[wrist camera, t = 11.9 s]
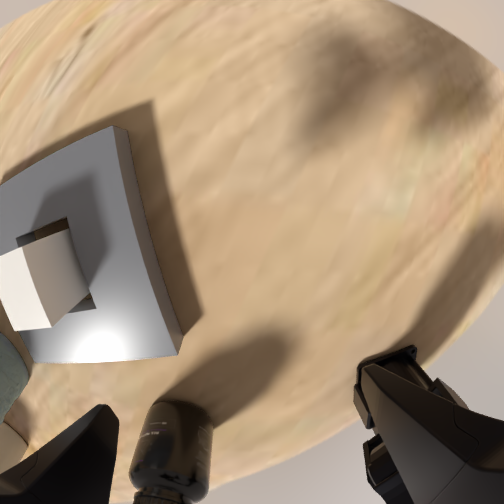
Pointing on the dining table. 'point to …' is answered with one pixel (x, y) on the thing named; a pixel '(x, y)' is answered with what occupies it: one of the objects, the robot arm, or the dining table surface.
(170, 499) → the supplement bottle
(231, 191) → the dining table surface
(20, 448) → the travel mug
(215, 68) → the dining table surface
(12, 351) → the teal cup
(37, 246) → the plug
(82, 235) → the socket
